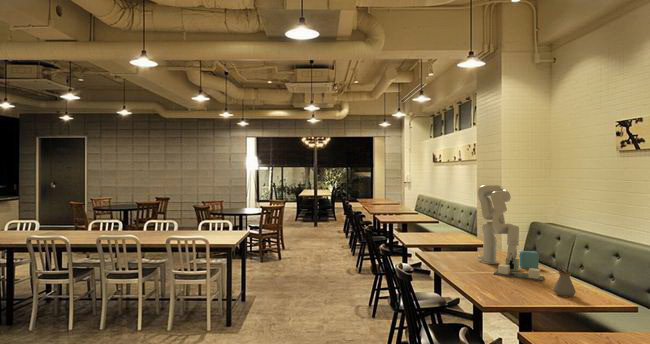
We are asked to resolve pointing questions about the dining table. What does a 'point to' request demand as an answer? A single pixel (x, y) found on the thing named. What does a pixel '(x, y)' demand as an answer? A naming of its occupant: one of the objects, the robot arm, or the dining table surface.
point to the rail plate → (519, 276)
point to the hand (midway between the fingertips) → (512, 267)
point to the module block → (516, 264)
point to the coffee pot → (564, 284)
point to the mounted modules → (531, 272)
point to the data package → (529, 259)
